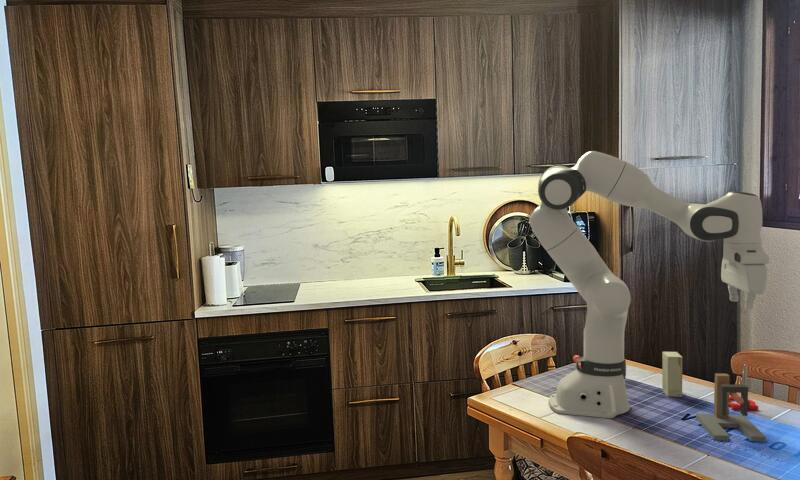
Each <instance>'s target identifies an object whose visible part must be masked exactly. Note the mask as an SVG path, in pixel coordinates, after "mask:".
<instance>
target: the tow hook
mask: <svg viewBox="0 0 800 480" xmlns="http://www.w3.org/2000/svg"><path fill="white" fill-rule="evenodd" d="M747 368H748V366H747V364H745V363H744V364H743V370H742V384H741V385H746V386H747V387H748V371H747ZM732 401H733V402H732ZM735 402H736V401H735V400H734V399H733V398H732V397H731V396H729V407H730V409H731V410H734V411H735V410H737V411H738V410H740V411H741V404H738V403H735ZM758 410H759V405H757V404H756V402H755V401H754V400H752V399H750V398H748V411H758Z"/></svg>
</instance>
